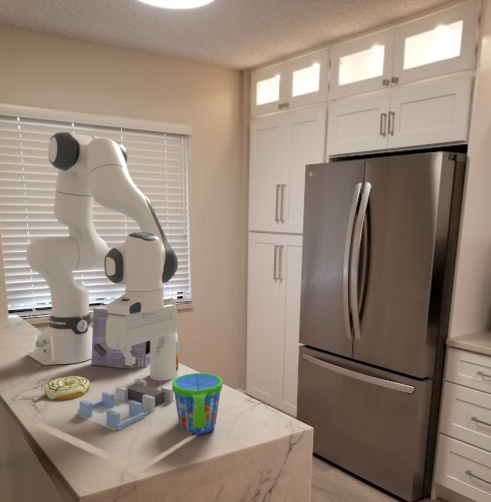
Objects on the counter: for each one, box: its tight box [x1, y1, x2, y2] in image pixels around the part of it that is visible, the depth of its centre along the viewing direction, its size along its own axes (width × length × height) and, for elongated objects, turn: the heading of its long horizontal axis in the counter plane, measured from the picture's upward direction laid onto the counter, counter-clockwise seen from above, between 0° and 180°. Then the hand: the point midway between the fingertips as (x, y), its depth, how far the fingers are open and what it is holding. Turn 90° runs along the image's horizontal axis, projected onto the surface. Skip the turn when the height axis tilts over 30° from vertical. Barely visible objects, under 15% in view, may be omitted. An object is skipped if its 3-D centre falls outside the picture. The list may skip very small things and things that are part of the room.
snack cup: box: [171, 372, 223, 436], centre depth 90 cm, size 16×10×10 cm
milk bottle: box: [149, 331, 179, 382], centre depth 118 cm, size 8×8×20 cm
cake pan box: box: [91, 306, 150, 370], centre depth 128 cm, size 19×5×18 cm, turn 77°
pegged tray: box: [77, 378, 176, 431], centre depth 97 cm, size 14×18×4 cm
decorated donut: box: [43, 375, 90, 401], centre depth 106 cm, size 10×11×4 cm
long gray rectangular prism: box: [125, 383, 164, 407], centre depth 101 cm, size 10×3×3 cm, turn 57°
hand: (145, 359), depth 100 cm, fingers open, 8 cm apart
